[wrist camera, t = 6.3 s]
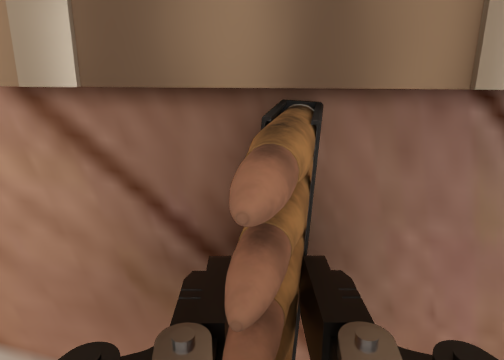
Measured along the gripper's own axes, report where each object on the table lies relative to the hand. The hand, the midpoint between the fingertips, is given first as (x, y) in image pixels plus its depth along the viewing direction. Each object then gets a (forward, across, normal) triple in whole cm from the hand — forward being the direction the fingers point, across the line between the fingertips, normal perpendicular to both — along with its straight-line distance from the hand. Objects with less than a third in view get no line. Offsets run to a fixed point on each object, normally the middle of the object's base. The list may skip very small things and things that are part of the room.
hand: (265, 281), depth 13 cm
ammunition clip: (+6, -2, 0) cm, 6 cm away
